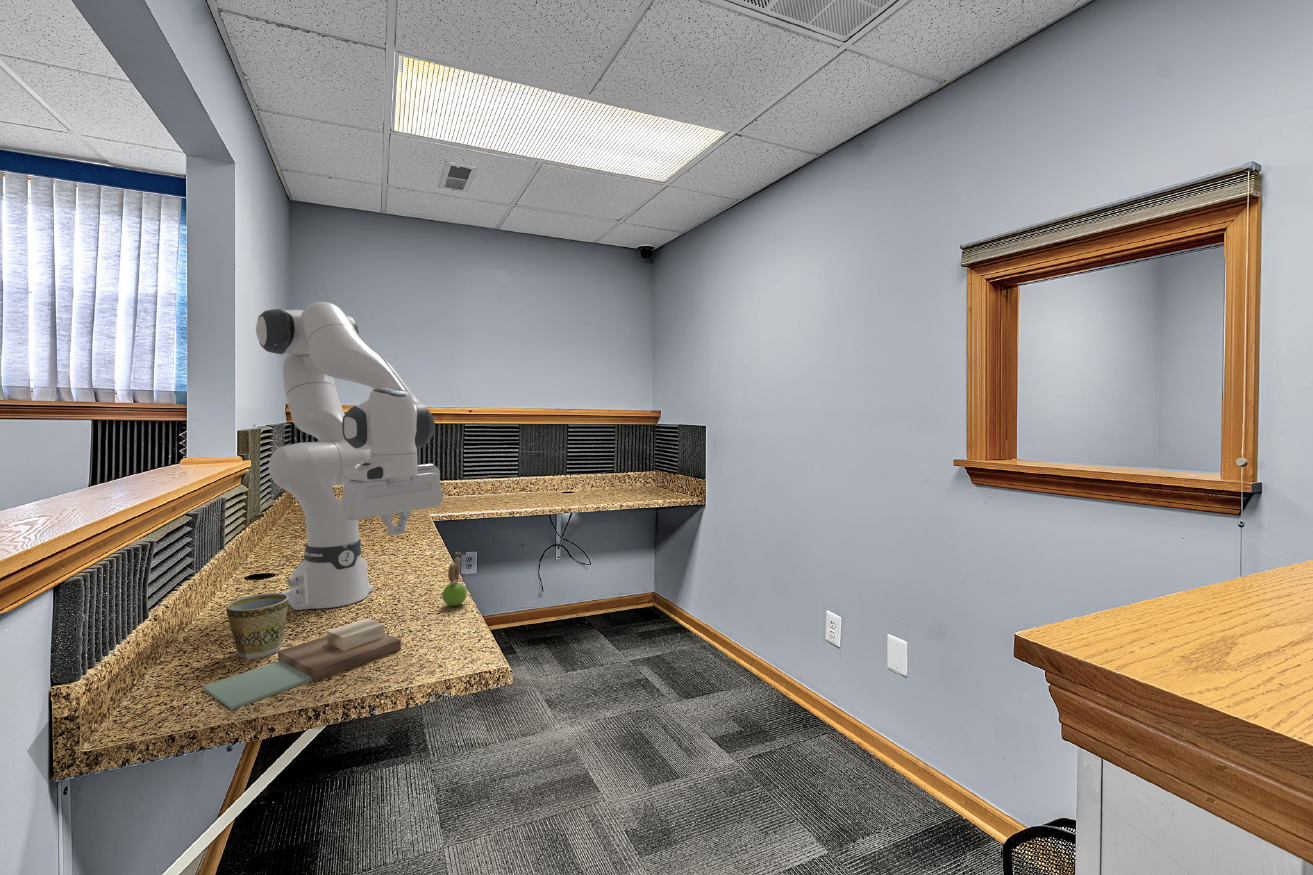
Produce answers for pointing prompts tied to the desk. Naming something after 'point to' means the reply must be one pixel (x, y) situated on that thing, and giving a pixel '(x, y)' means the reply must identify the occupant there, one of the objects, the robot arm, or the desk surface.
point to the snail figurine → (454, 585)
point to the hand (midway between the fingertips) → (396, 534)
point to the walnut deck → (335, 656)
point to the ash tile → (355, 634)
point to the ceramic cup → (258, 623)
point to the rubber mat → (256, 684)
